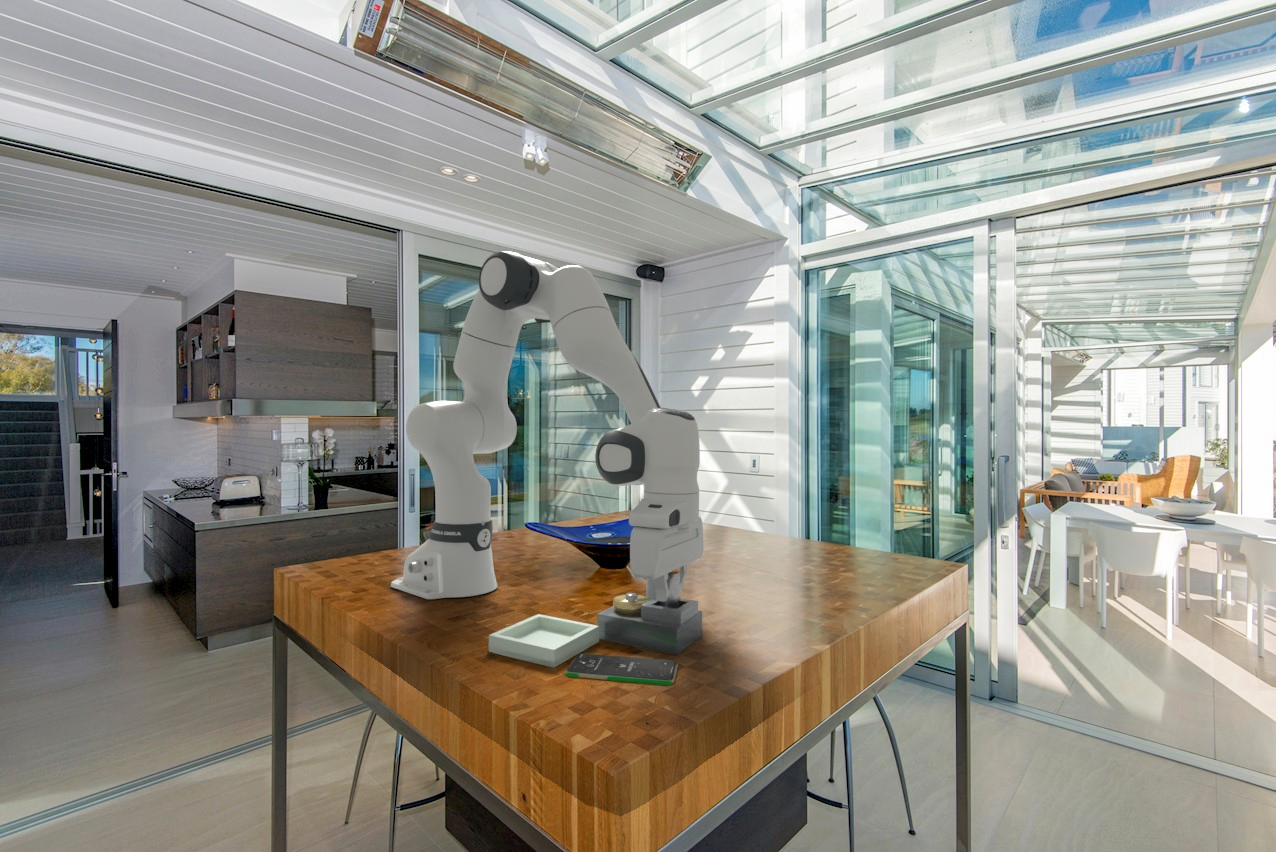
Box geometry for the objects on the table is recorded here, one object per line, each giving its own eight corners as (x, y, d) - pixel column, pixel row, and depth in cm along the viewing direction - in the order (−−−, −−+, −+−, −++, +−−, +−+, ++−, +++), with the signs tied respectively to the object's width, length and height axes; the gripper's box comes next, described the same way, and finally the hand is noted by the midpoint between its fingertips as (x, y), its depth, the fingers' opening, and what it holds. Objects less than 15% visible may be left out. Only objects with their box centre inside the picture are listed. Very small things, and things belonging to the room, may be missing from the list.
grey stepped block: (596, 638, 96) (597, 598, 96) (627, 621, 105) (627, 585, 105) (676, 655, 89) (677, 612, 89) (701, 635, 98) (702, 596, 98)
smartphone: (673, 681, 79) (563, 672, 81) (673, 688, 79) (563, 679, 81) (678, 659, 86) (577, 651, 89) (678, 666, 86) (577, 658, 89)
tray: (488, 651, 90) (488, 635, 90) (538, 628, 100) (538, 614, 100) (553, 667, 84) (554, 649, 84) (598, 641, 94) (599, 625, 95)
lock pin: (657, 616, 95) (658, 563, 95) (665, 611, 97) (666, 559, 97) (674, 619, 93) (675, 565, 93) (682, 614, 96) (683, 561, 96)
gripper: (679, 501, 106) (678, 579, 106) (623, 515, 88) (621, 609, 88) (713, 504, 103) (712, 584, 103) (661, 519, 85) (660, 616, 85)
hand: (670, 596), depth 95 cm, fingers open, 4 cm apart
